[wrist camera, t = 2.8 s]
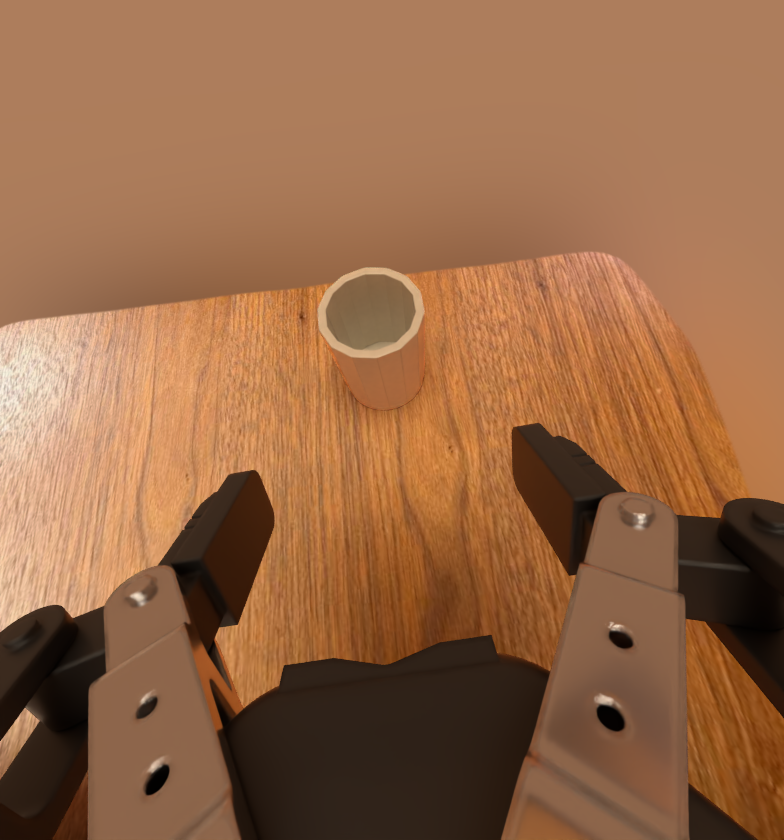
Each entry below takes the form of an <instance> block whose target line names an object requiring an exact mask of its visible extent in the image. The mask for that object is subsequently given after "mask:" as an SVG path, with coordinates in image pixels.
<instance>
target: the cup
mask: <svg viewBox="0 0 784 840" xmlns="http://www.w3.org/2000/svg"><path fill="white" fill-rule="evenodd" d="M317 313H318V325H319V331H320V333H321V335H322V337H323V339H324V341H325V343H326V345H327V347H328V349H329V351H330V353H331V355H332V357H333V359H334V361H335V363H336V365H337V367H338V369H339V371H340V373H341V375H342V377H343V379H344V381H345V383H346V385H347V387H348V388H349V390H350V392H351V393H352V395H353V396H354V397H355V398H356V400H358V401H359V402H360V403H361V404H363V405H365V406H367V407H369V408H372V409H377V410H391V409H395V408H398V407H401V406H403V405H405V404H406V403H408V402H409V401H410V400H412V399H413V398H414V397H415V396H416V394H417V393H418V392H419V390H420V388H421V386H422V383H423V379H424V373H425V310H424V305H423V300H422V295H421V292H420V290H419V289H418V288H417V287H416V286H415V285H414V284H413V282H412V281H411V280H410V279H409V278H408V277H407V276H405V275H403V274H401V273H398V272H396V271H393V270H391V269H388V268H362V269H359V270H357V271H354V272H351V273H348V274H346V275H343V276H342V277H341V278H339V279H338V280H337V281H336V282H335V283H334V284H333V285H331V286H330V287H329V288H328V289H327V290H326V291H325V294H324V296H323V298H322V300H321V303H320V305H319V307H318V310H317Z"/></svg>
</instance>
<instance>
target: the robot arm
mask: <svg viewBox="0 0 784 840" xmlns="http://www.w3.org/2000/svg"><path fill="white" fill-rule="evenodd" d="M512 467H513V477H514V481H515V484H516V487H517V489H518V491H519V493H520V494H521V496H522V498H523V499H524V501H525V503H526V504H527V506H528V508H529V509H530V511H531V513H532V514H533V516H534V518H535V519H536V521H537V523H538V524H539V526H540V528H541V530H542V531H543V533H544V535H545V536H546V538H547V540H548V541H549V543H550V545H551V546H552V548H553V550H554V551H555V553H556V555H557V556H558V558H559V560H560V561H561V563H562V565H563V566H564V568H565V570H566V571H567V573H568V575H569V576H570V575H576V578H575V582H574V586H573V590H572V593H571V597H570V601H569V604H568V608H567V612H566V616H565V619H564V623H563V627H562V630H561V634H560V638H559V642H558V645H557V649H556V653H555V656H554V660H553V664H552V668H551V671H548V670H546V669H544V668H542V667H540V666H538V665H536V664H534V663H532V662H529V661H527V660H524V659H522V658H518V657H515V656H511V655H507V654H501V653H497V652H496V649H495V645H494V642H493V639H492V635H488V636H481V637H474V638H468V639H461V640H454V641H447V642H440V643H438V644H435V645H433V646H431V647H428V648H426V649H424V650H422V651H419V652H417V653H415V654H412V655H410V656H408V657H405V658H403V659H401V660H399V661H396V662H394V663H391V664H388V665H379V664H372V663H365V662H358V661H351V660H344V659H337V658H332V659H325V660H318V661H311V662H305V663H298V664H291V665H284V667H283V672H282V676H281V681H280V685H279V686H278V687H275V688H273V689H272V690H270V691H268V692H266V693H265V694H263V695H261V696H260V697H258V698H257V699H256V700H254V701H253V702H251V703H250V704H249V705H248V706H246V707H245V708H244V709H243V707H242V704H241V702H240V700H239V697H238V695H237V692H236V689H235V687H234V684H233V681H232V679H231V676H230V673H229V671H228V668H227V665H226V663H225V660H224V657H223V655H222V652H221V649H220V647H219V644H218V643H217V641H216V639H215V636H216V633H217V631H218V629H219V627H226V626H232V625H238V623H239V620H240V617H241V615H242V612H243V609H244V607H245V604H246V601H247V598H248V596H249V593H250V590H251V588H252V585H253V582H254V580H255V577H256V574H257V572H258V569H259V566H260V563H261V561H262V558H263V555H264V553H265V550H266V547H267V545H268V542H269V539H270V537H271V534H272V531H273V528H274V521H275V520H274V511H273V508H272V505H271V503H270V500H269V498H268V495H267V493H266V490H265V488H264V485H263V483H262V480H261V478H260V475H259V474H258V472H257V471H255V470H251V471H245V472H239V473H233V474H230V475H228V476H227V478H226V479H225V481H224V482H223V484H222V485H221V487H220V488H219V490H218V491H217V492H215V493H213V494H212V495H211V496H210V497H209V498H207V499H206V500H205V501H204V502H203V503H202V504H200V506H199V507H198V509H197V510H196V512H195V513H194V514H193V516H192V519H190V520H189V522H188V523H187V525H186V526H185V527H184V528H185V530H182V532H181V533H180V535H179V536H178V537H177V539H176V540H175V542H174V543H173V545H172V546H171V547H170V549H169V550H168V552H167V553H166V555H165V556H164V558H163V559H162V560H161V562H160V563H159V565H158V566H154V567H151V568H148V569H145V570H143V571H141V572H139V573H137V574H135V575H134V576H132V577H130V578H129V579H127V580H126V581H125V582H124V583H122V584H121V585H120V586H119V587H118V588H117V589H116V590H115V591H114V592H113V593H112V594H111V596H110V597H109V598H108V600H107V602H106V604H105V606H103V607H100V608H98V609H95V610H93V611H90V612H88V613H85V614H83V615H80V616H78V617H75V618H72V617H71V616H70V615H69V614H68V612H67V611H66V610H65V609H64V608H63V607H62V606H59V605H50V606H46V607H43V608H40V609H37V610H35V611H33V612H31V613H29V614H27V615H25V616H23V617H21V618H20V619H18V620H16V621H15V622H13V623H12V624H11V625H9V626H8V627H6V628H5V629H4V630H3V631H1V632H0V741H1V740H2V738H3V737H4V735H5V734H6V733H7V731H8V730H9V729H10V727H11V726H12V724H13V723H14V722H15V720H16V719H17V718H18V716H19V715H20V713H21V712H22V711H23V709H24V708H26V709H27V710H28V711H29V712H31V713H32V714H33V715H34V716H35V717H36V718H37V719H38V720H40V722H39V723H38V725H37V726H36V728H35V729H34V731H33V732H32V734H31V735H30V737H29V738H28V740H27V741H26V743H25V744H24V746H23V747H22V749H21V750H20V752H19V753H18V755H17V756H16V758H15V759H14V760H13V762H12V763H11V765H10V766H9V768H8V769H7V771H6V772H5V774H4V775H3V777H2V778H1V780H0V840H52V839H53V837H54V835H55V833H56V831H57V829H58V827H59V825H60V823H61V821H62V819H63V817H64V815H65V813H66V811H67V809H68V808H69V806H70V804H71V802H72V800H73V798H74V796H75V794H76V792H77V790H78V788H79V786H80V784H81V782H82V780H83V778H84V776H85V775H86V773H87V771H88V840H757V839H756V838H755V837H754V836H753V835H751V834H750V833H749V832H748V831H746V830H745V829H744V828H743V827H742V826H740V825H739V824H738V823H737V822H735V821H734V820H733V819H732V818H731V817H729V816H728V815H727V814H726V813H725V812H723V811H722V810H721V809H720V808H718V807H717V806H716V805H715V804H714V803H712V802H711V801H710V800H709V799H707V798H706V797H705V796H704V795H703V794H701V793H700V792H699V791H698V790H696V789H695V788H694V787H693V786H692V785H690V784H689V783H688V747H687V685H686V624H685V619H692V620H699V621H705V622H706V623H707V625H708V626H709V627H710V628H711V630H712V631H713V632H714V633H715V634H716V636H717V637H718V638H719V639H720V641H721V642H722V643H723V644H724V645H725V647H726V648H727V649H728V650H729V652H730V653H731V654H732V655H733V656H734V658H735V659H736V660H737V661H738V663H739V664H740V665H741V666H742V668H743V669H744V670H745V671H746V672H747V674H748V675H749V676H750V677H751V679H752V680H753V681H754V682H755V683H756V685H757V686H758V687H759V688H760V690H761V691H762V692H763V693H764V694H765V696H766V697H767V698H768V699H769V701H770V702H771V703H772V704H773V705H774V707H775V708H776V709H777V710H778V712H779V713H780V714H781V715H782V716H783V718H784V504H781V503H778V502H774V501H769V500H763V499H756V498H741V499H735V500H732V501H730V502H728V503H727V504H726V505H725V506H724V509H723V512H722V515H721V518H712V517H697V516H683V515H676V514H675V513H674V511H673V510H672V509H671V508H670V507H669V506H667V505H666V504H664V503H663V502H661V501H659V500H657V499H655V498H653V497H650V496H647V495H643V494H639V493H633V492H627V491H626V490H625V489H624V488H623V487H621V486H620V485H619V484H618V483H617V482H616V481H615V480H614V479H613V478H612V477H611V476H610V475H609V474H608V473H607V472H606V471H605V470H604V469H603V468H602V467H601V466H599V465H598V464H596V463H595V461H594V460H593V459H592V458H591V457H590V456H589V455H587V453H586V452H585V451H584V450H583V449H582V448H581V447H580V446H579V445H577V444H576V443H575V442H572V441H570V440H568V439H566V438H564V437H562V436H556V437H552V435H551V434H550V433H549V432H548V431H547V430H546V429H545V428H544V427H543V426H542V425H541V424H540V423H535V424H529V425H523V426H517V427H513V429H512Z"/></svg>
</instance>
